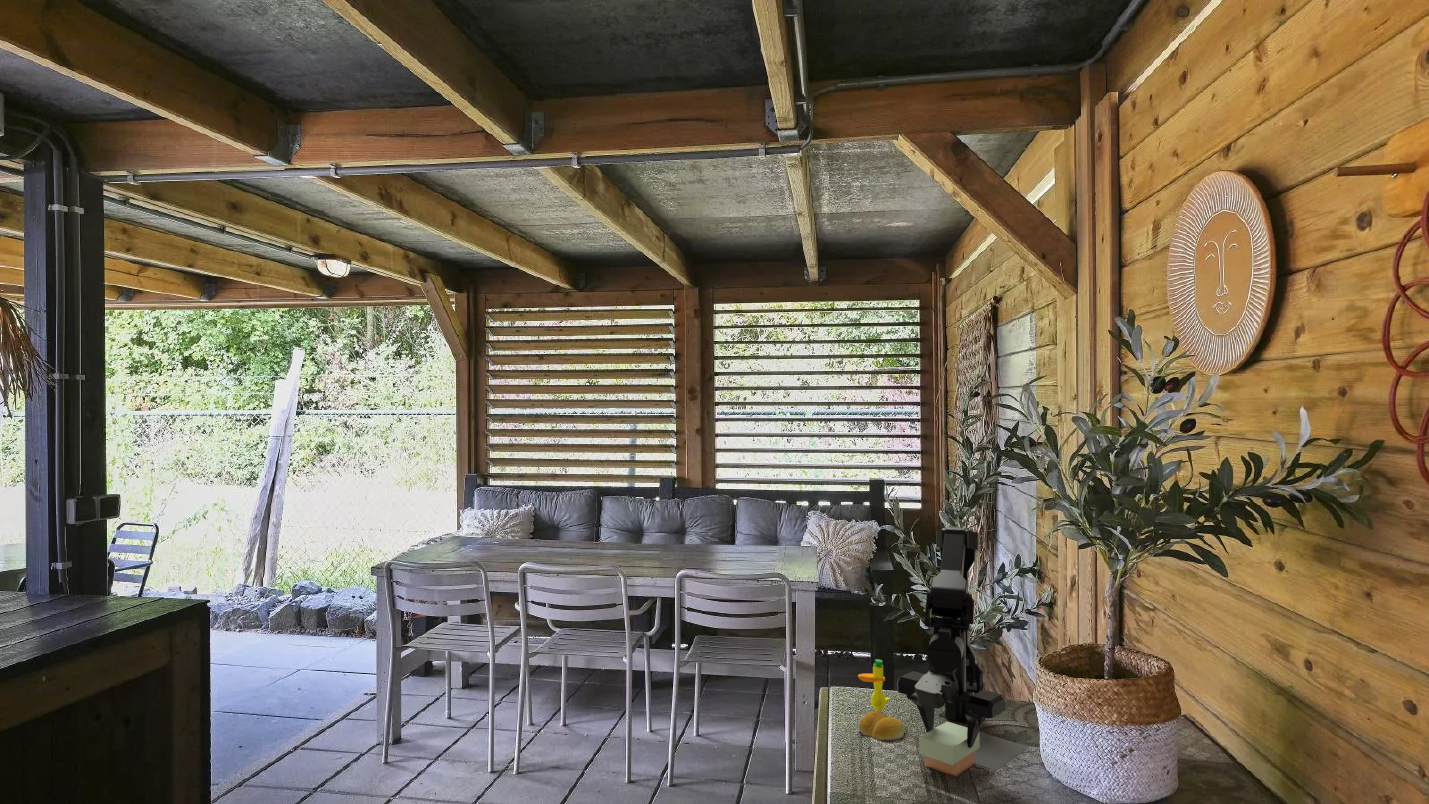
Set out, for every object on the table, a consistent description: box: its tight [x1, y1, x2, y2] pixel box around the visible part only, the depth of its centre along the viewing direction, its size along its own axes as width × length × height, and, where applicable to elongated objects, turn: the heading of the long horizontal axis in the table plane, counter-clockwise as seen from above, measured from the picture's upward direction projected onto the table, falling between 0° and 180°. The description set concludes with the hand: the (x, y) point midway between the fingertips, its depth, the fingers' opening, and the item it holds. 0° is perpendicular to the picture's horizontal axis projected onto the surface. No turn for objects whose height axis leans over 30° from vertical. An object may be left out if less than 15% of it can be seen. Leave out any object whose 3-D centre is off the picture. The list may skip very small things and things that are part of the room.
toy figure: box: [857, 658, 891, 712], centre depth 167 cm, size 7×4×12 cm, turn 76°
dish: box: [924, 752, 975, 777], centre depth 143 cm, size 7×6×3 cm
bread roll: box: [858, 710, 905, 741], centre depth 159 cm, size 8×9×4 cm
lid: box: [918, 721, 980, 765], centre depth 143 cm, size 10×6×3 cm, turn 135°
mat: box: [974, 731, 1030, 772], centre depth 149 cm, size 14×10×1 cm
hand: (949, 740), depth 143 cm, fingers open, 8 cm apart
